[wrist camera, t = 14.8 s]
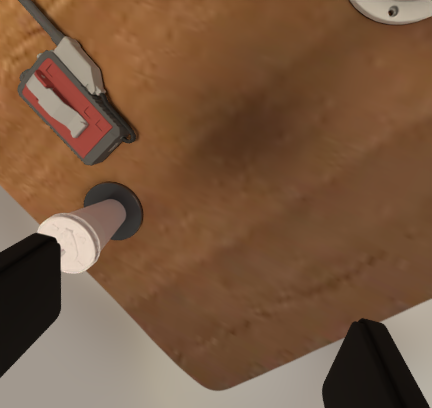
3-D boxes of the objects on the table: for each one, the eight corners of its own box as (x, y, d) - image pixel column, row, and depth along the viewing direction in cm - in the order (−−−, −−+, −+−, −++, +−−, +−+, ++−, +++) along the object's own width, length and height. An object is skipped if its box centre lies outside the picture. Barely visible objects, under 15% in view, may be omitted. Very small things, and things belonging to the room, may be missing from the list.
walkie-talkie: (152, 125, 33) (24, -22, 30) (137, 128, 29) (-14, -42, 26) (106, 172, 36) (-16, 42, 33) (86, 180, 32) (-56, 32, 29)
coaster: (87, 175, 37) (84, 176, 36) (146, 189, 36) (144, 190, 36) (85, 230, 40) (82, 232, 39) (140, 244, 39) (138, 246, 38)
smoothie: (85, 223, 38) (-6, 283, 25) (95, 180, 36) (1, 223, 23) (128, 242, 38) (59, 312, 25) (141, 201, 36) (74, 254, 23)
